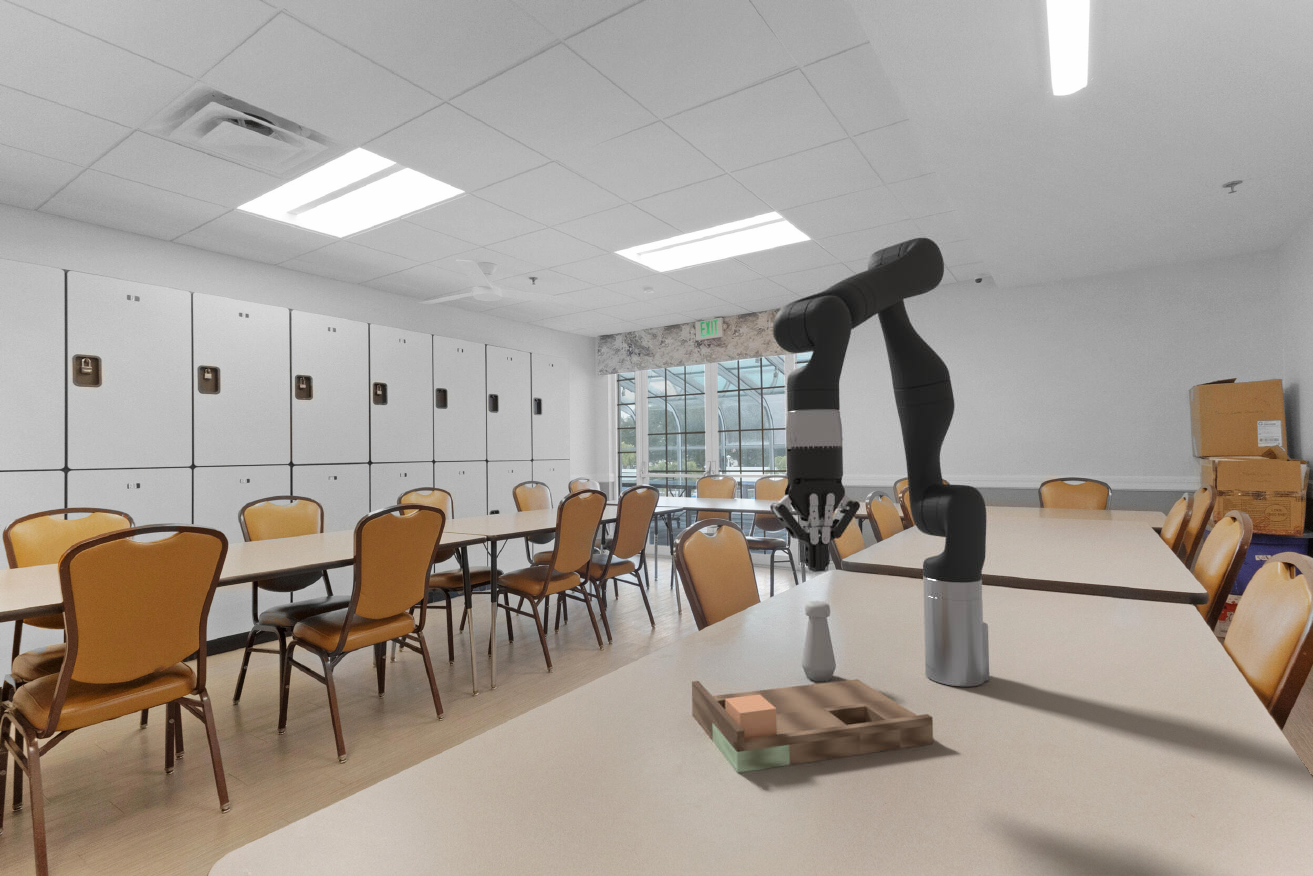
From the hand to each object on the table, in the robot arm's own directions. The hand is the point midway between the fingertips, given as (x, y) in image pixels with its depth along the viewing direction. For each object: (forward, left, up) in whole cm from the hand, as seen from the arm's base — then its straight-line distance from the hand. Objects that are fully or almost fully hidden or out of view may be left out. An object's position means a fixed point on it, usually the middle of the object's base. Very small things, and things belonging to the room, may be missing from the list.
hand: (816, 570), depth 87 cm
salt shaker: (-12, -22, -23) cm, 34 cm away
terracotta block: (+10, +1, -20) cm, 23 cm away
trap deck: (0, -4, -23) cm, 23 cm away
